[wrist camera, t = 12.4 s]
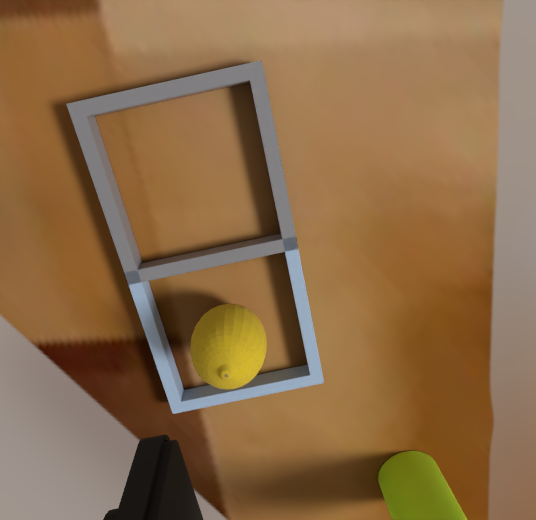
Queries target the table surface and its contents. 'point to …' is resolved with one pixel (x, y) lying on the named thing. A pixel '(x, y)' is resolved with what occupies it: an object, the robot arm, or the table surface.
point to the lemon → (228, 346)
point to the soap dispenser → (417, 489)
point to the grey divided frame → (203, 259)
